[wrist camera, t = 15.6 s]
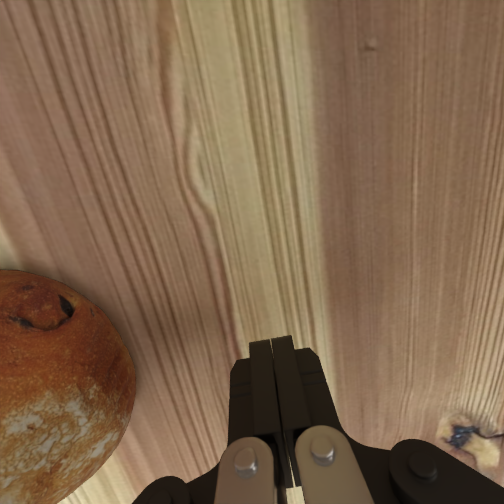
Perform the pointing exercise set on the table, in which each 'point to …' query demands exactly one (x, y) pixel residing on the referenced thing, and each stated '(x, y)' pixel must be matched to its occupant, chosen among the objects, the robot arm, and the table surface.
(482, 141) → the table surface
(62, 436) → the bread roll
